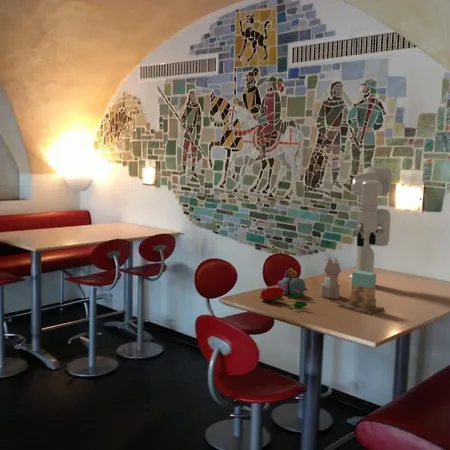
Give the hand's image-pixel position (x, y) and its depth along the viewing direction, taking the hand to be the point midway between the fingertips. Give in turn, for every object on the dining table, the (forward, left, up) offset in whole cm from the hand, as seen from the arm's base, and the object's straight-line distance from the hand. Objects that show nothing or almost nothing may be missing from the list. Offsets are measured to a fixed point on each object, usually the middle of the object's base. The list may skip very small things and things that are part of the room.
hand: (366, 245), depth 257 cm
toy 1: (-36, -8, -31) cm, 48 cm away
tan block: (0, 0, -25) cm, 25 cm away
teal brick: (0, 0, -19) cm, 19 cm away
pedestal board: (0, 0, -30) cm, 30 cm away
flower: (-24, -25, -31) cm, 46 cm away
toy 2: (-21, +3, -31) cm, 37 cm away
